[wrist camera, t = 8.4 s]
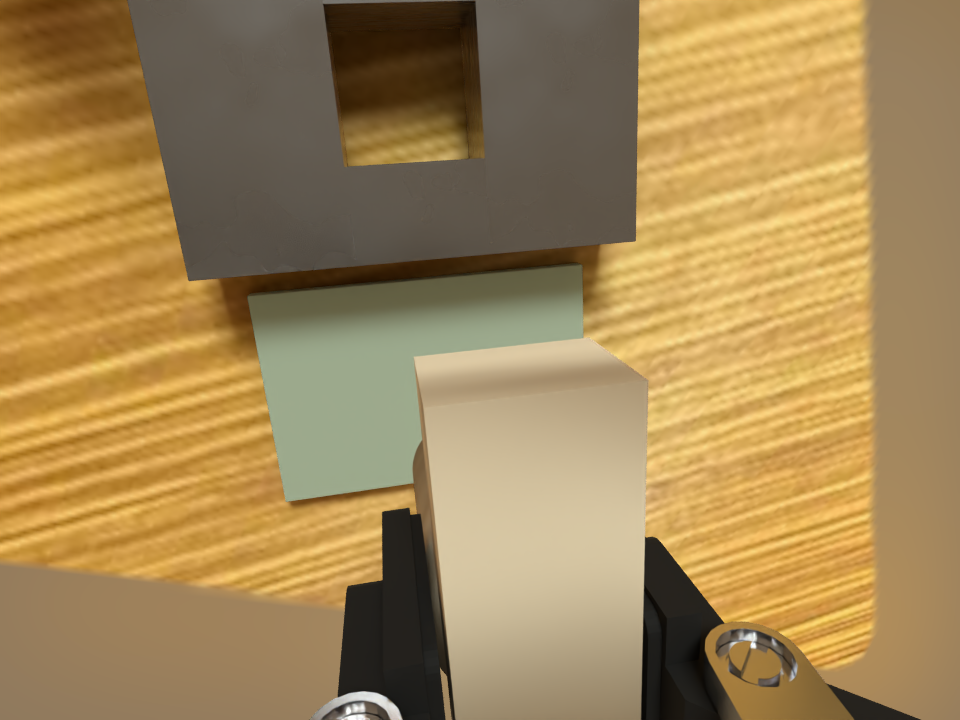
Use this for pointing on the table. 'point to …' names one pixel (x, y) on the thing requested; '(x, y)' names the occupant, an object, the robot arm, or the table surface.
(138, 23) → the lock housing
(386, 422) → the mat
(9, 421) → the table surface
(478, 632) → the t key
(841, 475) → the table surface
